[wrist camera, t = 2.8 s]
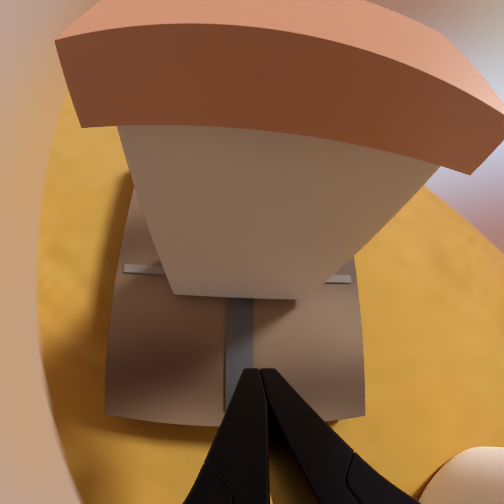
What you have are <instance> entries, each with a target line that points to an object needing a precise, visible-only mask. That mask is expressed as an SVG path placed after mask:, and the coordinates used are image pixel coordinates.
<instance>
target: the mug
mask: <svg viewBox="0 0 504 504" xmlns="http://www.w3.org/2000/svg"><path fill="white" fill-rule="evenodd" d="M418 502H420V503H421V504H504V447H475V448H470V449H467V450H465V451H463V452H461V453H459V454H457V455H456V456H454V457H453V458H452V459H450V460H449V461H448V462H447V463H446V464H445V465H444V466H442V468H441V469H440V470H439V471H438V472H437V473H436V474H435V476H434V477H433V478H432V479H431V481H430V482H429V483H428V485H427V486H426V488H425V490H424V491H423V493H422V495H421V497H420V498H419V501H418Z"/></svg>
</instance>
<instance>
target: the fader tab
mask: <svg viewBox="0 0 504 504" xmlns="http://www.w3.org/2000/svg"><path fill="white" fill-rule="evenodd" d="M55 44H56V48H57V52H58V56H59V59H60V63H61V66H62V70H63V73H64V77H65V80H66V83H67V86H68V89H69V93H70V96H71V99H72V102H73V105H74V108H75V111H76V113H77V116H78V119H79V122H80V125H81V127H82V128H88V127H103V126H117V128H118V132H119V136H120V139H121V143H122V147H123V150H124V154H125V157H126V160H127V164H128V167H129V171H130V174H131V177H132V180H133V183H134V187H135V190H136V193H137V196H138V199H139V202H140V205H141V208H142V211H143V214H144V217H145V220H146V223H147V225H148V228H149V231H150V234H151V237H152V239H153V242H154V245H155V248H156V250H157V253H158V256H159V258H160V261H161V263H162V266H163V269H164V271H165V274H166V276H167V279H168V281H169V284H170V286H171V289H172V291H173V294H178V295H194V296H212V297H233V298H259V299H296V300H306V299H307V298H309V297H310V296H311V295H312V294H313V293H314V292H315V291H316V290H317V289H319V288H320V287H321V286H322V285H323V284H324V283H325V282H326V281H327V280H328V279H330V278H331V277H332V276H333V275H334V274H335V273H336V272H337V271H338V270H339V269H340V268H341V267H343V266H344V265H345V264H346V263H347V262H348V261H349V260H350V259H351V258H352V257H353V256H354V255H355V254H356V253H357V252H358V251H359V250H360V249H361V248H362V247H363V246H364V245H366V244H367V243H368V242H369V241H370V240H371V239H372V238H373V237H374V236H375V235H376V234H377V233H378V232H379V231H380V230H381V229H382V228H383V227H384V226H385V225H386V224H387V223H388V222H389V221H390V220H391V219H392V218H393V217H394V216H395V214H396V213H397V212H398V211H399V210H400V209H401V208H402V207H403V206H404V205H405V204H406V203H407V202H408V201H409V200H410V199H411V198H412V197H413V196H414V195H415V193H416V192H417V191H418V190H419V189H420V188H421V187H422V186H423V185H424V184H425V183H426V181H427V180H428V179H429V178H430V177H431V176H432V175H433V174H434V173H435V172H436V171H437V169H438V168H439V167H440V166H443V167H446V168H449V169H453V170H455V171H459V172H462V173H465V174H468V175H471V174H472V173H473V172H474V171H475V170H476V169H477V168H478V167H479V166H480V165H481V164H482V163H483V162H484V161H485V160H486V159H487V157H488V156H489V155H490V154H491V153H492V152H493V151H494V150H495V149H496V148H497V147H498V146H499V145H500V143H501V142H502V141H503V140H504V103H503V102H502V101H501V99H500V98H499V97H498V96H497V94H496V93H495V91H494V90H493V89H492V88H491V86H490V85H489V84H488V83H487V81H486V80H485V79H484V78H483V77H482V75H481V74H480V73H479V72H478V71H477V70H476V69H475V67H474V66H473V65H472V64H471V63H470V62H469V61H468V60H467V59H466V58H465V57H464V55H463V54H462V53H461V52H460V51H459V50H458V49H457V48H456V47H455V46H454V45H453V44H452V43H451V42H450V41H449V40H448V39H447V38H446V37H445V36H444V35H442V34H441V33H439V32H437V31H435V30H433V29H431V28H429V27H427V26H425V25H423V24H421V23H419V22H417V21H415V20H413V19H410V18H408V17H406V16H404V15H401V14H399V13H397V12H394V11H392V10H389V9H386V8H384V7H381V6H379V5H376V4H373V3H371V2H367V1H365V0H101V1H100V2H98V3H97V4H96V5H94V6H93V7H92V8H91V9H89V10H88V11H87V12H86V13H84V14H83V15H82V16H81V17H80V18H79V19H77V20H76V21H75V22H74V23H73V24H71V25H70V26H69V27H68V28H67V29H66V30H65V31H64V32H63V33H62V34H60V35H59V36H58V37H57V38H56V39H55Z"/></svg>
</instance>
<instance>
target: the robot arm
mask: <svg viewBox="0 0 504 504" xmlns="http://www.w3.org/2000/svg"><path fill="white" fill-rule="evenodd" d="M270 493H271V497H272V502H273V504H421V503H420V502H418V501H417V500H415V499H414V498H412V497H411V496H409V495H408V494H406V493H405V492H403V491H402V490H400V489H399V488H397V487H396V486H395V485H393V484H392V483H391V482H389V481H388V480H387V479H385V478H384V477H383V476H381V475H380V474H379V473H378V472H377V471H375V470H374V469H373V468H372V467H371V466H370V465H369V464H368V463H366V462H365V461H364V460H363V459H362V458H361V457H360V456H359V455H358V454H357V453H356V452H355V453H354V450H353V449H352V448H351V447H350V446H349V445H348V444H347V443H346V442H345V441H344V440H343V439H342V438H341V437H340V436H339V435H338V434H337V433H336V432H335V431H334V430H333V429H332V428H331V427H330V426H329V425H328V424H327V423H326V422H325V421H324V420H323V419H322V418H321V417H320V416H319V415H318V414H317V413H316V412H315V411H314V410H313V408H312V407H311V406H310V405H309V404H308V403H307V402H306V401H305V400H304V399H303V398H302V397H301V396H300V395H299V394H298V392H297V391H296V390H295V389H294V388H293V387H292V386H291V385H290V384H289V383H288V382H287V381H286V379H285V378H284V377H283V376H282V375H281V374H280V373H279V372H278V371H277V370H276V369H275V368H261V369H260V370H259V369H258V368H244V369H243V371H242V373H241V376H240V378H239V381H238V383H237V386H236V388H235V391H234V393H233V396H232V398H231V400H230V403H229V405H228V408H227V410H226V412H225V415H224V417H223V420H222V422H221V424H220V427H219V429H218V431H217V434H216V436H215V438H214V441H213V443H212V445H211V448H210V450H209V452H208V455H207V457H206V459H205V461H204V464H203V465H202V468H201V470H200V472H199V474H198V477H197V479H196V481H195V483H194V485H193V487H192V488H191V490H190V492H189V494H188V496H187V497H186V499H185V501H184V502H183V504H270Z"/></svg>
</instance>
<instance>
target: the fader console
mask: <svg viewBox="0 0 504 504" xmlns="http://www.w3.org/2000/svg"><path fill="white" fill-rule="evenodd" d="M244 368H258V369H259V370H260V369H261V368H275V369H276V370H277V371H278V372H279V373H280V374H281V375H282V376H283V377H284V378H285V379H286V381H287V382H288V383H289V384H290V385H291V386H292V387H293V388H294V389H295V390H296V391H297V392H298V394H299V395H300V396H301V397H302V398H303V399H304V400H305V401H306V402H307V403H308V404H309V405H310V406H311V407H312V408H313V410H314V411H315V412H316V413H317V414H318V415H319V416H320V417H321V418H322V419H323V420H324V421H325V422H326V421H334V420H341V419H348V418H354V417H360V416H365V380H364V357H363V341H362V327H361V315H360V305H359V295H358V286H357V277H356V269H355V262H354V256H353V257H352V258H351V259H350V260H349V261H348V262H347V263H346V264H345V265H344V266H343V267H341V268H340V269H339V270H338V271H337V272H336V273H335V274H334V275H333V276H332V277H331V278H330V279H328V280H327V281H326V282H325V283H324V284H323V285H322V286H321V287H320V288H319V289H317V290H316V291H315V292H314V293H313V294H312V295H311V296H310V297H309V298H307V299H306V300H296V299H259V298H233V297H212V296H194V295H178V294H173V291H172V289H171V286H170V284H169V281H168V279H167V276H166V274H165V271H164V269H163V266H162V263H161V261H160V258H159V256H158V253H157V250H156V248H155V245H154V242H153V239H152V237H151V234H150V231H149V228H148V225H147V223H146V220H145V217H144V214H143V211H142V208H141V205H140V202H139V199H138V196H137V193H136V190H135V187H134V190H133V194H132V198H131V202H130V206H129V211H128V215H127V220H126V224H125V229H124V234H123V239H122V244H121V249H120V254H119V260H118V266H117V272H116V278H115V285H114V292H113V299H112V307H111V315H110V324H109V334H108V346H107V360H106V378H105V414H106V415H111V416H117V417H123V418H129V419H136V420H143V421H151V422H160V423H170V424H181V425H196V426H219V427H220V424H221V422H222V420H223V417H224V415H225V412H226V410H227V408H228V405H229V403H230V400H231V398H232V396H233V393H234V391H235V388H236V386H237V383H238V381H239V378H240V376H241V373H242V371H243V369H244Z"/></svg>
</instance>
